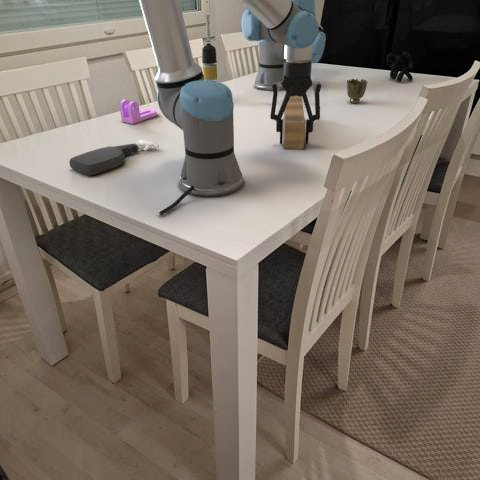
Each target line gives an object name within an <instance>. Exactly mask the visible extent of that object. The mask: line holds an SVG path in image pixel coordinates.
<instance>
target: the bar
mask: <svg viewBox="0 0 480 480" xmlns="http://www.w3.org/2000/svg"><path fill="white" fill-rule="evenodd" d="M305 135H306V120H305V110H304V102H303V98H302V96H290V99H289V101H288V103H287V106H286V108H285V111H284V113H283V149H284V150H304V149H305Z"/></svg>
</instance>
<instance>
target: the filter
mask: <svg viewBox="0 0 480 480" xmlns="http://www.w3.org/2000/svg"><path fill="white" fill-rule="evenodd" d="M210 17H211V14H204V18H205V27H206V29H205V30H206V31H205V33H206V39H207V40H206V42H207V43H206V45H204V46H202V49H201V50H202V51H201V52H202V54H201V55H202V57H201V58H202V61H201V63H202V71H203V75H204V80H209V81H213V82H216V80H218V64H216V63H218V61H217V48H216V47H215V46H214V45H212V43H210V42H211V40H210V39H211V31H210V29H211V28H210Z"/></svg>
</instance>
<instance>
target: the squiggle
mask: <svg viewBox="0 0 480 480" xmlns="http://www.w3.org/2000/svg"><path fill="white" fill-rule="evenodd" d="M401 57H402V59H401ZM391 59H392V60H391ZM393 60H394V61H393ZM385 61H386V64H387V67H390V68H391V70H390V72H389V78H390V79H391V80H395V79H396V81H397V82H399V83H400V82H402V81H403V79H404V76H406V78H407V80H408V81H412V80H413V79H414V77H413V75H412V74H411V73H410V72H409V71H410V70H412V69H413V68H414V64H413V61H412V57H411V54H410V53H409V52H408V51H403V53H402V54H401V55H396V54H394V53H392V52H390V53H387V55H386V57H385ZM406 62H407V65H408V66H407V67H405V66H404V65H405V64H406ZM400 70H401V71H400Z"/></svg>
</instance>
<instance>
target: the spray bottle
mask: <svg viewBox="0 0 480 480" xmlns="http://www.w3.org/2000/svg"><path fill="white" fill-rule="evenodd" d="M159 148H160V145H159V144H158V143H155V142H151V141H148V140H144V139H139V140H138V141H137V142H135V143H129V144H128V143H126V144H122V145H113V146H105V147H100V148H97V149H94V150H90V151H87V152H83V153H81V154H78V155H74V156H73V157H70V159H69V161H68V162H69V167H70V168H71V169H72V170H74V171H75V172H78V173H81V174H83V175H85V176H89V177H90V176H91V177H92V176H95V175H99V174H102V173H105V172H107V171H110V170H113V169H116V168H118V167H120V166H122V165H123V164H124V163H125V158H126V156H127V155H131V154H133V153H138V151H140V150H143V151H144V152H146V151H147V150H149V149H159Z"/></svg>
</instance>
